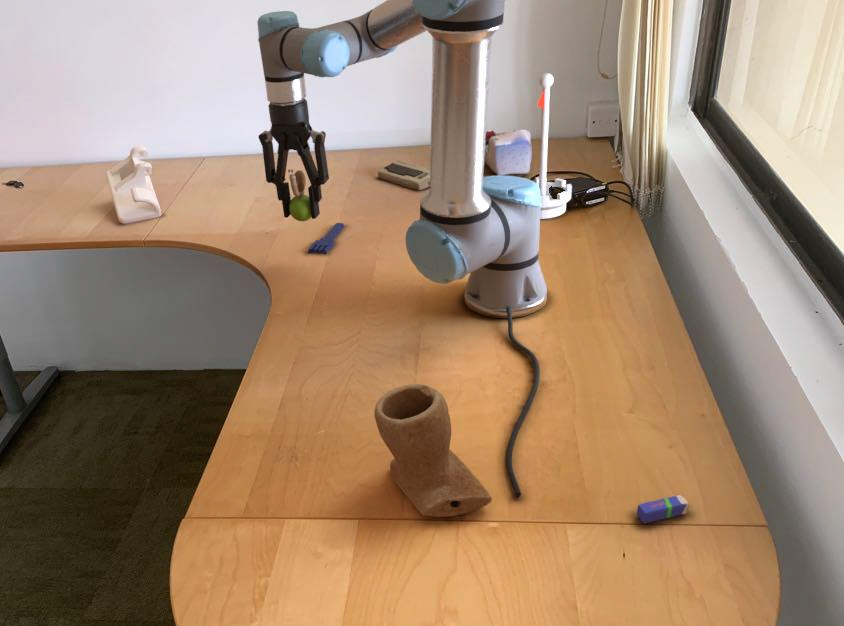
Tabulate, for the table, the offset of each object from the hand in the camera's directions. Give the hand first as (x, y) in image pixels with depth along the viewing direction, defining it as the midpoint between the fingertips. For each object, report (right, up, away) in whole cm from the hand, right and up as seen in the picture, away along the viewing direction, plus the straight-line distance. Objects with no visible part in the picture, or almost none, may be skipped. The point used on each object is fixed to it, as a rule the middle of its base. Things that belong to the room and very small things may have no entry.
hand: (302, 215), depth 174 cm
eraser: (+50, -54, -67) cm, 99 cm away
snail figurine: (0, -1, +1) cm, 2 cm away
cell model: (+51, +23, +45) cm, 72 cm away
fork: (+5, -2, +16) cm, 17 cm away
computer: (+25, +18, +43) cm, 53 cm away
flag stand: (+54, +6, +19) cm, 58 cm away
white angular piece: (-45, +11, +43) cm, 63 cm away
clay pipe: (+21, -51, -59) cm, 81 cm away
